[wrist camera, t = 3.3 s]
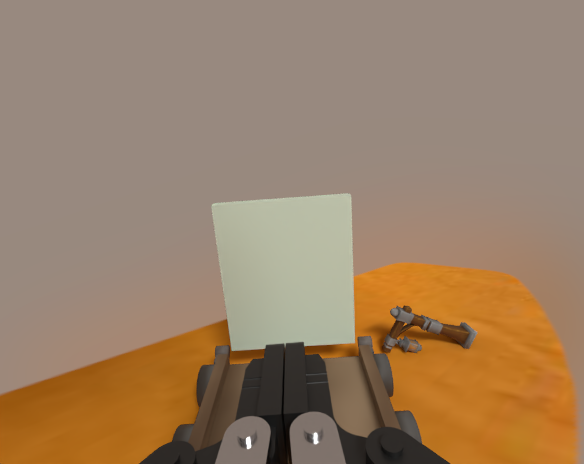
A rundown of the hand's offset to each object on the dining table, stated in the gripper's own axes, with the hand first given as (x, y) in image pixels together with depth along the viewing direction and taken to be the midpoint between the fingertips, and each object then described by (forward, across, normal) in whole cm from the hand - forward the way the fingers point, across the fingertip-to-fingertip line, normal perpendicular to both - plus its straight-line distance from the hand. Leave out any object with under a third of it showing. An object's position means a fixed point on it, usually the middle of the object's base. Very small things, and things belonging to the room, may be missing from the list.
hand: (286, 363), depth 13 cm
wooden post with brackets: (+15, -12, +11) cm, 22 cm away
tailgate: (+13, 0, +8) cm, 15 cm away
